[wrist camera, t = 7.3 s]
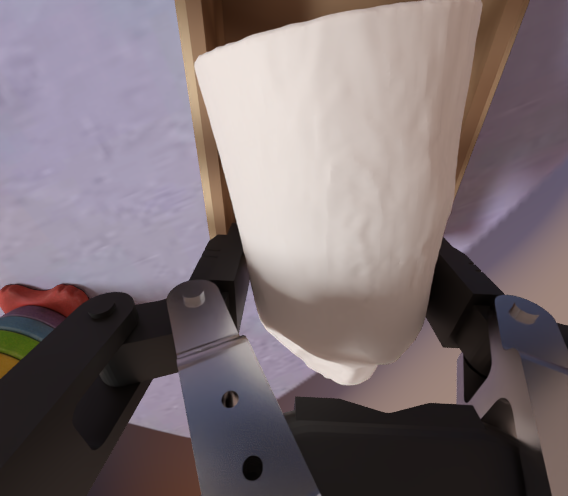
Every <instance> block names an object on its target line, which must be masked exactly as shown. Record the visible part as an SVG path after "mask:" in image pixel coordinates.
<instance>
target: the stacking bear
mask: <svg viewBox="0 0 568 496" xmlns="http://www.w3.org/2000/svg"><path fill="white" fill-rule="evenodd" d="M87 300H89V298H88V297H87V295H86V294H85V293H84V292H83V291H82V290H80V289H78V288H76V287H75V286H72V285H63V284H60V285H57V286H56V287H54V288H53V289H50V290H46V291H38V290H33V289H29V288H27V287H24V286H21V285H6V286H4V287H3V288H2V289H1V290H0V307H1V308H2V310H3V311H4V313H5V314H4V315H3V316H1V317H0V379H1V378H2V377H3V376H4V375H5V374H6V373H7V372H8V371H9V370H10V369H12V368H13V367H14V366H15V365H16V364H17V363H18V362H19V361H20V360H21V359H22V358H23V357H25V356H26V355H27V354H28V353H29V352H30V351H31V350H32V349H33V348H34V347H35V346H36V345H38V344H39V343H40V342H41V341H42V340H43V339H44V338H45V337H46V336H47V335H48V334H49V333H51V332H52V331H53V330H54V329H55V328H56V327H57V326H58V325H59V324H60V323H61V322H62V321H64V320H65V319H66V318H67V317H68V316H69V315H70V314H71V313H72V312H73V311H74V310H75V309H76V308H78V307H79V306H80V305H81V304H83V303H84V302H86V301H87Z"/></svg>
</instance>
